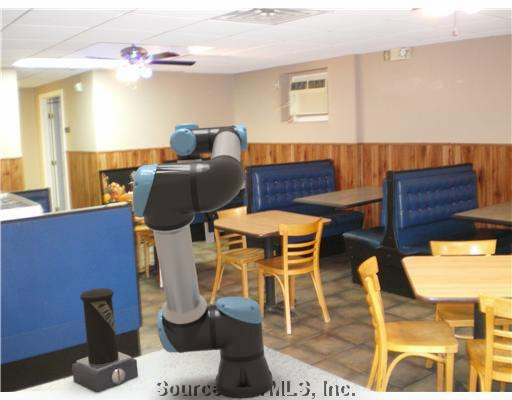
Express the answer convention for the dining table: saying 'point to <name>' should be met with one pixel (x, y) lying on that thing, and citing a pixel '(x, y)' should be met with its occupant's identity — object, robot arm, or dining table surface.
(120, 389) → the dining table surface
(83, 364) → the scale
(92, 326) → the container
